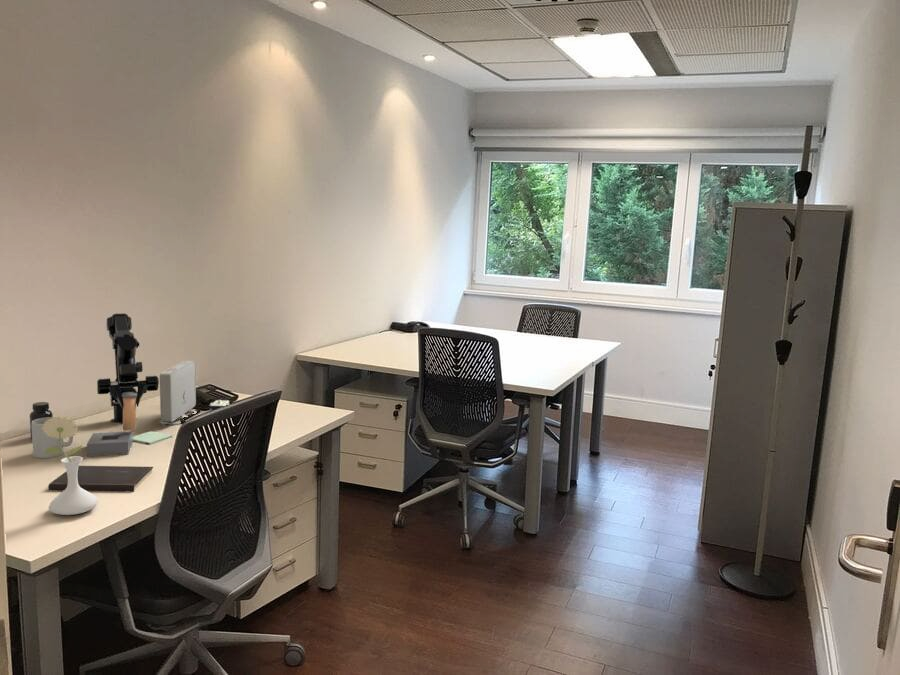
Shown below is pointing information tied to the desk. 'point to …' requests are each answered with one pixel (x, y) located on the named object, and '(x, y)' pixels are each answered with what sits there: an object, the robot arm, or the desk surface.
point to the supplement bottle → (39, 412)
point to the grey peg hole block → (109, 443)
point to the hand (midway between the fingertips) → (130, 406)
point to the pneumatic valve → (218, 404)
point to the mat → (151, 437)
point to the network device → (177, 392)
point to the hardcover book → (105, 478)
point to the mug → (45, 440)
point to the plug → (129, 410)
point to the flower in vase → (68, 471)
